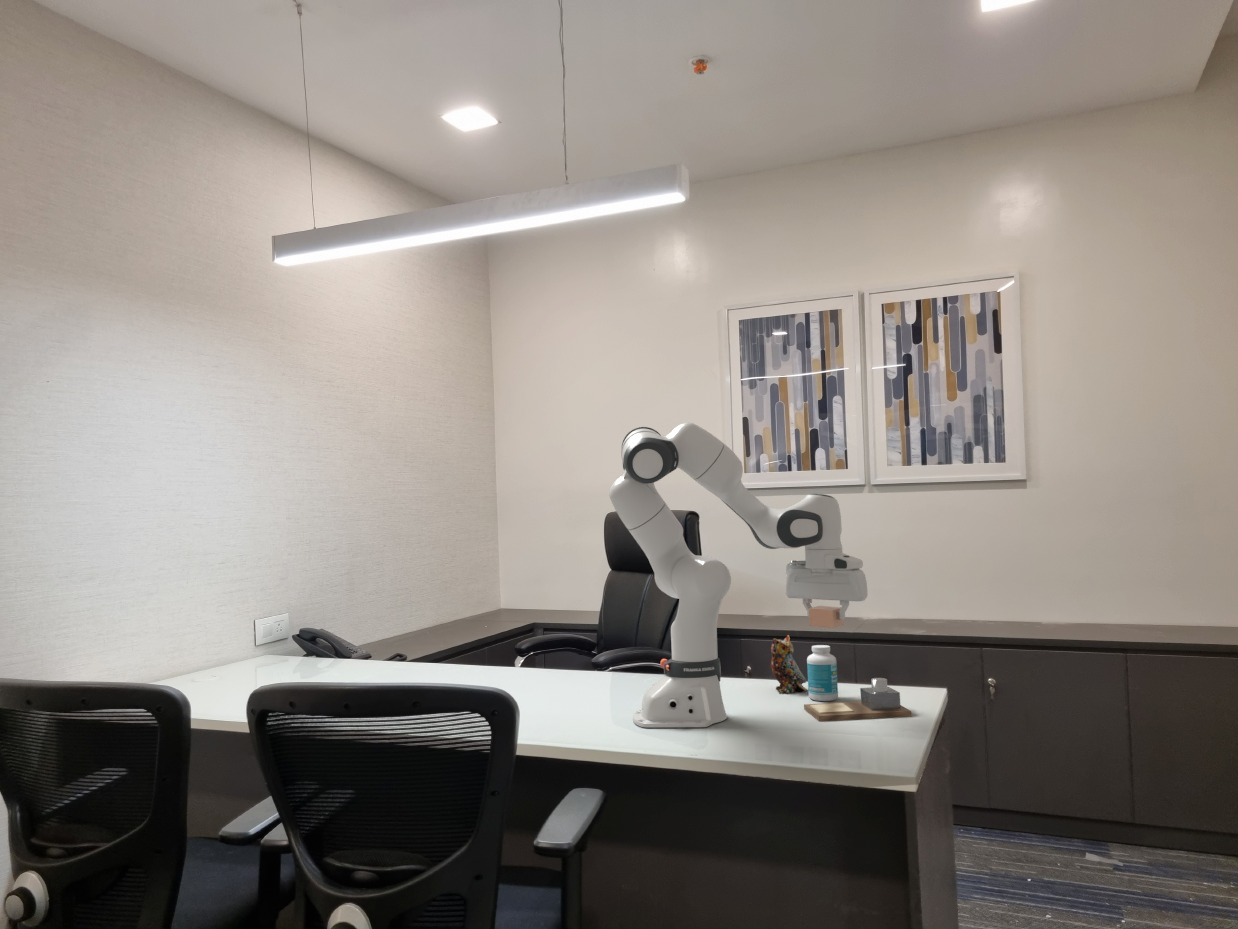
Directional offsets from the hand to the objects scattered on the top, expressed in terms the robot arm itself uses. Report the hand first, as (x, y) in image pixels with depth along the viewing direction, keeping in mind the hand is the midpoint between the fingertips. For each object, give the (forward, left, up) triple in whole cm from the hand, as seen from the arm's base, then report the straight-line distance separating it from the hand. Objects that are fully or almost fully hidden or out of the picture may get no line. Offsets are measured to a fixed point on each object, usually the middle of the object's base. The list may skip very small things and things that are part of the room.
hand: (826, 618), depth 200 cm
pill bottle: (+3, +16, -23) cm, 28 cm away
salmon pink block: (0, 0, -2) cm, 2 cm away
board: (+6, 0, -23) cm, 23 cm away
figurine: (-3, +27, -23) cm, 35 cm away
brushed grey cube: (+12, 0, -21) cm, 25 cm away
